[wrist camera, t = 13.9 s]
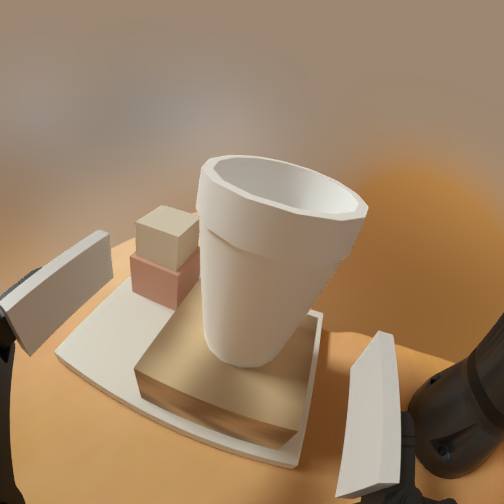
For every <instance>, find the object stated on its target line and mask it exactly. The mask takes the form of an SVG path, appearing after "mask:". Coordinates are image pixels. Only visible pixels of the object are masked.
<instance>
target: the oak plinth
mask: <svg viewBox="0 0 504 504" xmlns="http://www.w3.org/2000/svg"><path fill="white" fill-rule="evenodd" d="M317 322H318V318H317V317H314V316H311V315H308V314H307V315H306V316H305V318H304V319H303V320H302V322H301V323H300V325H299V326H298V328H297V329H296V330H295V332H294V333H293V335H292V336H291V337H290V339H289V340H288V341H287V343H286V344H285V346H284V347H283V348H282V350H281V351H280V352H279V354H278V355H277V356H276V357H275V358H274V360H273V361H271V362H269V363H267V364H265V365H263V366H261V367H256V368H239V367H236V366H234V365H231V364H228V363H226V362H223V361H221V360H220V359H219V358H218V357H217V356H216V355H215V354H214V353H213V352H212V351H211V350H209V347H208V344H207V342H206V339H205V336H204V328H203V312H202V294H201V278H200V279H199V280H198V282H197V283H196V284H195V286H194V287H193V288H192V290H191V291H190V292H189V294H188V295H187V296H186V297H185V299H184V300H183V301H182V303H181V304H180V305H179V307H178V308H177V309H176V311H175V312H174V313H173V315H172V316H171V317H170V319H169V320H168V322H167V323H166V324H165V326H164V327H163V328H162V330H161V331H160V332H159V334H158V335H157V336H156V338H155V339H154V340H153V342H152V343H151V345H150V346H149V347H148V349H147V350H146V351H145V353H144V354H143V356H142V357H141V358H140V360H139V361H138V363H137V364H136V365H135V367H134V372H135V376H136V380H137V384H138V388H139V392H140V395H141V398H142V399H144V400H146V401H148V402H150V403H152V404H154V405H156V406H158V407H160V408H162V409H164V410H166V411H168V412H171V413H173V414H175V415H177V416H179V417H182V418H184V419H186V420H188V421H191V422H193V423H196V424H198V425H201V426H203V427H206V428H208V429H211V430H213V431H216V432H219V433H222V434H224V435H227V436H230V437H233V438H236V439H239V440H242V441H246V442H249V443H252V444H256V445H259V446H263V447H266V448H270V449H274V450H278V449H280V448H281V447H282V446H283V445H284V444H285V443H286V442H288V441H289V440H290V439H291V438H292V437H293V436H294V435H295V434H296V433H297V432H298V431H299V427H300V422H301V418H302V413H303V408H304V403H305V398H306V392H307V387H308V381H309V375H310V369H311V363H312V357H313V350H314V344H315V337H316V329H317Z"/></svg>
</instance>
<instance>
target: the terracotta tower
mask: <svg viewBox="0 0 504 504" xmlns="http://www.w3.org/2000/svg"><path fill="white" fill-rule="evenodd" d="M198 240H199V216H196V215H193V214H190V213H186V212H183V211H180V210H177V209H174V208H171V207H167V206H164V205H161V206H160V207H158V208H157V209H155V210H153V211H152V212H150V213H149V214H147V215H145V216H144V217H142V218H141V219H139V220H138V221H136V252H134V253H133V254H132V255H131V256H130V269H131V282H132V292H134V293H136V294H138V295H141V296H143V297H145V298H147V299H149V300H151V301H154V302H156V303H158V304H160V305H163V306H165V307H167V308H170V309H172V310H174V311H176V309H177V308H178V307H179V305H180V304H181V303H182V301H183V300H184V299H185V297H186V296H187V295H188V294H189V292H190V291H191V290H192V288H193V287H194V286H195V284H196V283H197V282H198V280H199V277H200V247H199V246H198Z"/></svg>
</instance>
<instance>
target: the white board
mask: <svg viewBox="0 0 504 504" xmlns="http://www.w3.org/2000/svg"><path fill="white" fill-rule="evenodd" d="M200 278H201V271H200V277H199V279H200ZM174 312H175V311H174V310H172V309H170V308H167V307H165V306H163V305H160V304H158V303H156V302H154V301H151V300H149V299H147V298H145V297H143V296H141V295H138V294H136V293H134V292H132V282H131V275H130V276H129V277H128V278H127V279H126V280H125V281H123V282H122V283H121V284H120V285H119V286H118V287H117V288H116V289H115V290H114V291H113V292H112V293H111V294H110V295H109V296H108V297H107V298H106V299H105V300H104V301H103V302H102V303H101V304H99V305H98V306H97V307H96V308H95V309H94V310H93V311H92V312H91V313H90V314H89V315H88V316H87V317H86V318H85V319H84V320H83V321H82V323H81V324H80V325H79V326H78V327H77V328H76V329H75V330H74V331H73V332H72V333H71V334H70V335H69V336H68V337H67V338H66V339H65V340H64V341H63V342H62V343H61V344H60V346H59V347H58V348H57V349H56V350H55V351H54V353H55V355H56V357H57V359H58V360H59V361H60V362H61V363H62V364H64V365H65V366H66V367H68V368H69V369H70V370H72V371H73V372H74V373H76V374H77V375H78V376H80V377H81V378H83V379H84V380H85V381H87V382H88V383H90V384H91V385H93V386H94V387H96V388H97V389H99V390H100V391H102V392H103V393H105V394H107V395H108V396H110V397H111V398H113V399H115V400H116V401H118V402H120V403H121V404H123V405H125V406H127V407H128V408H130V409H132V410H134V411H135V412H137V413H139V414H141V415H143V416H145V417H147V418H149V419H151V420H153V421H155V422H157V423H159V424H161V425H163V426H165V427H167V428H169V429H171V430H173V431H176V432H178V433H180V434H182V435H185V436H187V437H189V438H192V439H194V440H197V441H199V442H202V443H204V444H207V445H210V446H212V447H215V448H218V449H221V450H224V451H226V452H229V453H232V454H236V455H239V456H242V457H245V458H249V459H252V460H256V461H259V462H263V463H267V464H271V465H275V466H280V467H284V468H289V469H293V468H295V467H296V466H298V462H299V458H300V454H301V449H302V445H303V440H304V435H305V431H306V426H307V420H308V415H309V410H310V404H311V399H312V393H313V387H314V380H315V374H316V367H317V360H318V353H319V345H320V337H321V328H322V319H323V313H320V312H317V311H314V310H311V309H310V310H309V312H308V313H307V314H308V315H311V316H314V317H317V318H318V322H317V329H316V337H315V344H314V350H313V357H312V363H311V369H310V375H309V381H308V387H307V392H306V398H305V403H304V408H303V413H302V418H301V422H300V427H299V431H298V432H297V433H296V434H295V435H294V436H293V437H292V438H291V439H290V440H289V441H288V442H286V443H285V444H284V445H283V446H282V447H281V448H280V449H278V450H274V449H270V448H266V447H263V446H259V445H256V444H252V443H249V442H246V441H242V440H239V439H236V438H233V437H230V436H227V435H224V434H222V433H219V432H216V431H213V430H211V429H208V428H206V427H203V426H201V425H198V424H196V423H193V422H191V421H188V420H186V419H184V418H182V417H179V416H177V415H175V414H173V413H171V412H168V411H166V410H164V409H162V408H160V407H158V406H156V405H154V404H152V403H150V402H148V401H146V400H144V399H142V398H141V395H140V392H139V388H138V384H137V380H136V376H135V372H134V367H135V365H136V364H137V363H138V361H139V360H140V358H141V357H142V356H143V354H144V353H145V351H146V350H147V349H148V347H149V346H150V345H151V343H152V342H153V340H154V339H155V338H156V336H157V335H158V334H159V332H160V331H161V330H162V328H163V327H164V326H165V324H166V323H167V322H168V320H169V319H170V317H171V316H172V315H173V313H174Z"/></svg>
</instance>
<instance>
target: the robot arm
mask: <svg viewBox="0 0 504 504" xmlns="http://www.w3.org/2000/svg"><path fill="white" fill-rule="evenodd" d="M112 278H113V270H112V261H111V250H110V236H109V233H107V232H104V231H102V230H97V231H96V232H94V233H92V234H91V235H90V236H88V237H86V238H85V239H83V240H82V241H80V242H78V243H77V244H75V245H74V246H72V247H71V248H70V249H68V250H67V251H65V252H64V253H63V254H61V255H59V256H58V257H56V258H55V259H54V260H52V261H51V262H49V264H47V265H45V266H44V267H43V268H42V267H41V268H38V269H36V270H33V271H31V272H30V273H29V274H27V275H26V276H25V277H24V278H22V279H21V280H20V281H18V283H16V284H15V285H13V286H12V287H11V288H9V289H8V290H7V291H6V292H5V293H3V294H2V295H1V296H0V504H25V501H24V498H23V496H22V494H21V492H20V491H19V490H18V488H17V487H16V485H15V481H14V474H13V467H12V458H11V446H10V391H11V378H12V368H13V360H14V353H15V343H14V341H15V340H16V339H17V341H18V343H19V344H20V346H21V348H22V349H23V350H24V351H25V352H26V353H27V354H28V355H29V356H30V357H31V355H32V354H33V353H34V352H35V351H36V350H37V349H38V348H39V347H40V346H41V345H42V344H43V343H44V342H45V341H46V340H47V339H48V338H49V337H50V336H51V335H52V334H53V333H54V332H55V331H56V330H57V329H58V328H59V327H60V326H61V325H62V324H63V323H64V322H65V321H66V320H67V319H68V318H69V317H70V316H71V315H73V314H74V313H75V312H76V311H77V310H78V309H79V308H80V307H81V306H82V305H83V304H84V303H85V302H86V301H88V300H89V299H90V298H91V297H92V296H93V295H94V294H95V293H96V292H97V291H99V290H100V289H101V288H102V287H103V286H104V285H105V284H106V283H108V282H109V281H110V280H111V279H112ZM503 440H504V313H503V314H502V316H501V317H500V318H499V320H498V321H497V323H496V324H495V325H494V326H493V327H492V329H491V330H490V331H489V333H488V334H487V335H486V336H485V337H484V339H483V340H482V341H481V342H480V343H479V345H478V346H477V347H476V348H475V349H474V350H473V352H472V353H471V354H470V355H469V356H468V357H467V358H465V359H463V360H462V361H460V362H458V363H456V364H454V365H453V366H451V367H449V368H447V369H445V370H443V371H441V372H439V373H437V374H435V375H434V376H432V377H431V378H429V379H428V380H427V381H426V382H425V383H424V384H423V385H422V386H421V387H420V388H419V389H418V390H417V391H416V392H415V394H414V395H413V397H412V399H411V402H410V405H409V408H408V412H401V411H400V395H399V381H398V371H397V361H396V353H395V345H394V338H393V335H391V334H388V333H385V332H382V331H378V332H377V334H376V335H375V336H374V338H373V339H372V341H371V342H370V343H369V345H368V346H367V347H366V349H365V350H364V351H363V353H362V354H361V355H360V357H359V358H358V359H357V360H356V362H355V363H354V364H353V366H352V367H351V369H350V387H349V401H348V412H347V422H346V431H345V440H344V447H343V454H342V461H341V467H340V473H339V479H338V484H337V489H336V494H335V498H346V499H354V498H358V497H361V496H362V497H361V502H358V503H354V504H457V503H456V501H455V500H454V499H451V498H447V499H445V500H442V501H435V500H432V499H429V498H426V497H423V496H422V493H421V492H420V490H419V489H418V488H416V487H415V454H416V456H417V457H418V459H419V460H420V462H421V463H422V464H423V465H424V467H425V468H426V469H428V470H429V471H430V472H431V473H433V474H435V475H437V476H439V477H442V478H448V479H452V478H458V477H461V476H463V475H465V474H467V473H469V472H471V471H472V470H474V469H476V468H477V467H479V466H480V465H481V464H482V463H483V462H484V461H485V460H486V459H487V458H488V457H489V456H490V455H491V454H492V453H493V452H494V451H495V450H496V448H497V447H498V446H499V445H500V444H501V443H502V442H503Z"/></svg>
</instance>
